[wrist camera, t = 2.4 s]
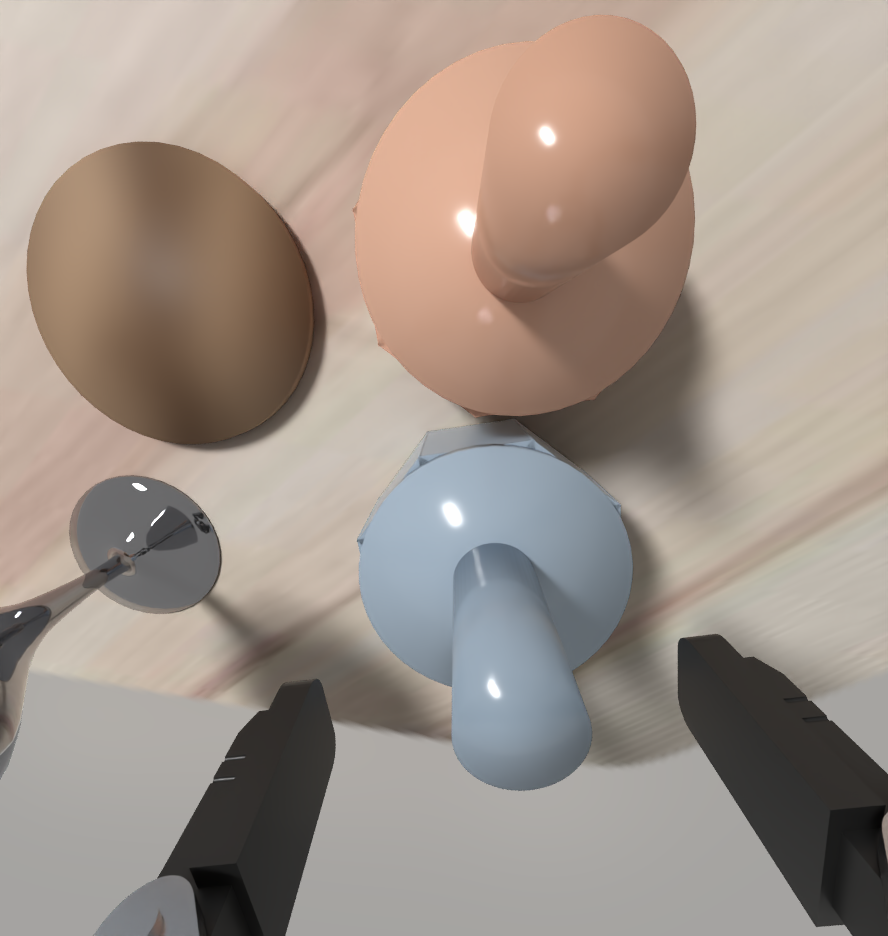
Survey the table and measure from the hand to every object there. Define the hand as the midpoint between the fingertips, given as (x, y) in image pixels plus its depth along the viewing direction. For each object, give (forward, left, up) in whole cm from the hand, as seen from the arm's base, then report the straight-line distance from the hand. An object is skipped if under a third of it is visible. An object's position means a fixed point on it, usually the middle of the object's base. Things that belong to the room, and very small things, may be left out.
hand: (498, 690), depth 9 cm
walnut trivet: (+11, -11, -10) cm, 18 cm away
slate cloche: (0, 0, -10) cm, 10 cm away
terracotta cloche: (-2, -10, -10) cm, 14 cm away
